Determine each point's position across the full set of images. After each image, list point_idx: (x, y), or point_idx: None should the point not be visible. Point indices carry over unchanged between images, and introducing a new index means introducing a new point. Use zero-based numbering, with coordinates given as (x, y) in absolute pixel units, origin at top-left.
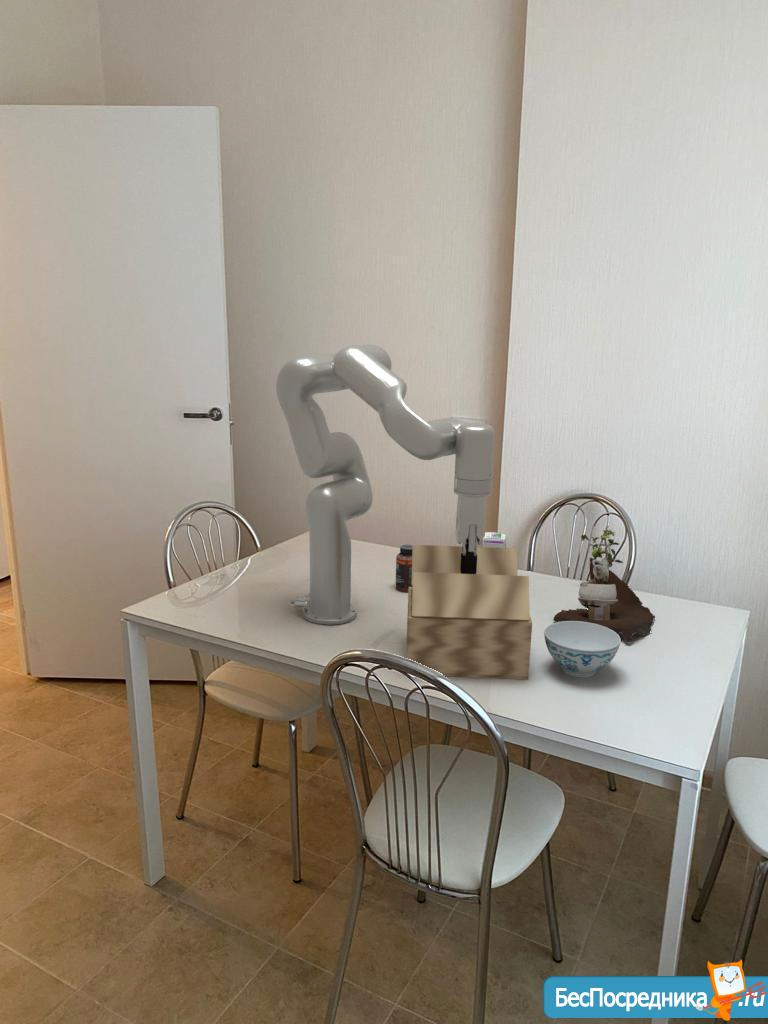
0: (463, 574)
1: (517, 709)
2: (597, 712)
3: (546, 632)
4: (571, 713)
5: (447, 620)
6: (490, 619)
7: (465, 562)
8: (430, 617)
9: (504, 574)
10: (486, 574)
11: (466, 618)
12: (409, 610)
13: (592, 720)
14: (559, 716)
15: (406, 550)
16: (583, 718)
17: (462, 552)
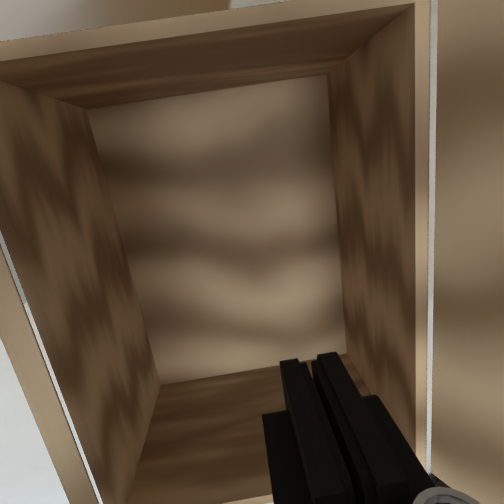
0: (48, 447)
1: (2, 376)
2: (55, 499)
3: None
4: (31, 463)
5: (12, 252)
6: (364, 326)
7: (269, 470)
8: (354, 135)
9: (495, 474)
10: (496, 404)
11: (361, 258)
12: (49, 39)
13: (19, 493)
14: (8, 446)
15: None
16: (20, 481)
17: (420, 495)
